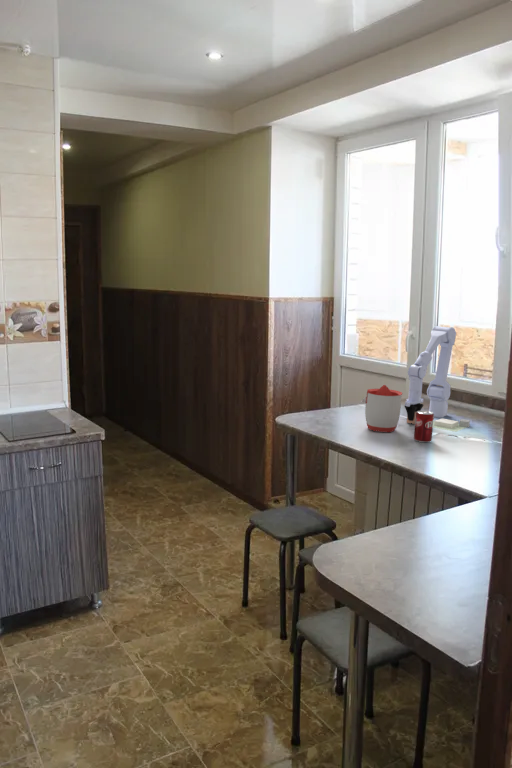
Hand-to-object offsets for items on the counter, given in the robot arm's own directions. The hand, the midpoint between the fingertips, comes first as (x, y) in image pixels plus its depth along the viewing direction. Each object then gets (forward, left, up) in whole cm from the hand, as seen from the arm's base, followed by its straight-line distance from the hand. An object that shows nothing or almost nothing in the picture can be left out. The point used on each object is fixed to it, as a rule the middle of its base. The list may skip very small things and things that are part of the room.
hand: (412, 419), depth 300 cm
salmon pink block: (0, 0, -1) cm, 1 cm away
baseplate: (-3, +15, -1) cm, 15 cm away
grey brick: (-9, +21, 0) cm, 23 cm away
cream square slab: (-3, +15, 0) cm, 15 cm away
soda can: (+27, +18, -2) cm, 32 cm away
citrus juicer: (+24, -4, -2) cm, 24 cm away
